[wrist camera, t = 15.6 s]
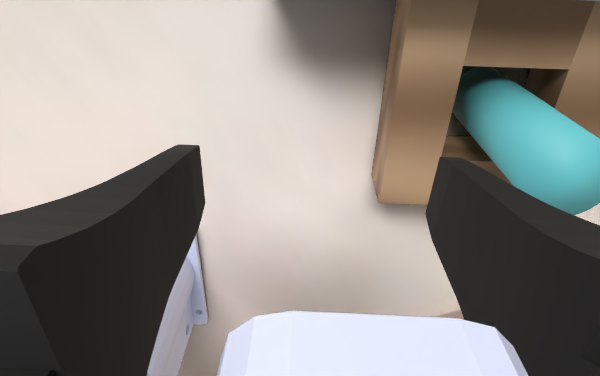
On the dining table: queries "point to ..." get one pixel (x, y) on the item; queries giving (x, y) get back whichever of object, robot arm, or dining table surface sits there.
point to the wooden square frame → (476, 52)
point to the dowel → (530, 140)
